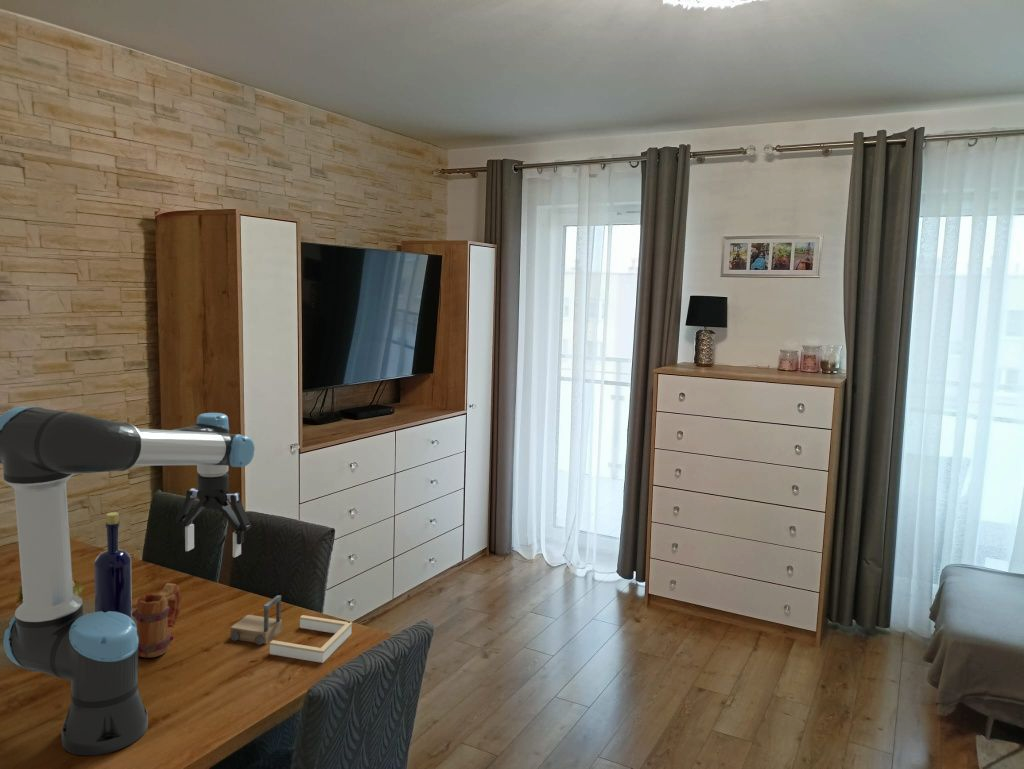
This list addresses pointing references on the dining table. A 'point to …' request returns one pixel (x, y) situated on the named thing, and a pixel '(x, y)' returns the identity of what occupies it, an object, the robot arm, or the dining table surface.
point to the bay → (309, 652)
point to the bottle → (113, 574)
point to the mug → (157, 620)
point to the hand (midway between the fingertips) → (213, 552)
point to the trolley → (259, 625)
